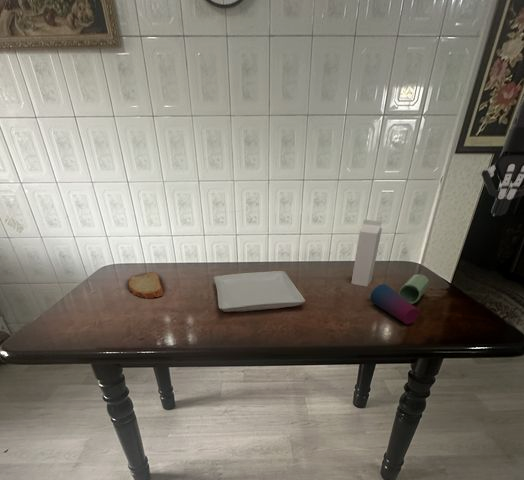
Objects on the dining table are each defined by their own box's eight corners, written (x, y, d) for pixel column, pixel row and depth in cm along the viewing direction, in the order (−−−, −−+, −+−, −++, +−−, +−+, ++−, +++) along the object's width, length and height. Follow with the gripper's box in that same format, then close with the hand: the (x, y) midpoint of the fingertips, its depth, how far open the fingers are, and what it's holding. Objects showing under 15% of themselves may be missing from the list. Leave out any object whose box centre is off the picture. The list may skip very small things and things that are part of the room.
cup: (396, 323, 85) (366, 300, 96) (410, 329, 88) (380, 306, 100) (411, 302, 82) (379, 281, 93) (426, 309, 85) (393, 288, 97)
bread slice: (157, 300, 103) (155, 289, 100) (112, 294, 107) (109, 284, 104) (182, 280, 117) (180, 271, 115) (142, 276, 121) (139, 267, 119)
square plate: (220, 319, 91) (219, 307, 89) (214, 284, 113) (213, 274, 111) (305, 310, 95) (306, 299, 93) (283, 278, 117) (284, 269, 115)
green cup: (431, 276, 100) (423, 287, 93) (425, 294, 104) (417, 306, 97) (411, 272, 103) (401, 282, 96) (406, 290, 107) (396, 301, 100)
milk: (355, 278, 117) (366, 218, 104) (371, 281, 114) (384, 219, 101) (350, 284, 112) (361, 221, 100) (367, 287, 110) (379, 223, 97)
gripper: (568, 124, 62) (526, 215, 72) (492, 126, 66) (463, 211, 76) (581, 123, 56) (534, 221, 66) (498, 125, 61) (465, 217, 71)
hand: (496, 216), depth 71 cm, fingers closed
